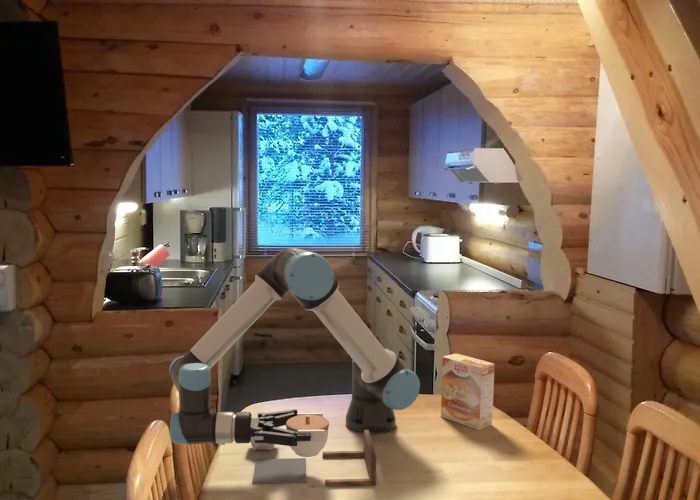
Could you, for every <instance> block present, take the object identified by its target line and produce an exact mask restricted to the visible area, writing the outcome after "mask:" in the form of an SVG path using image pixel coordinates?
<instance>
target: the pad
mask: <svg viewBox="0 0 700 500" xmlns="http://www.w3.org/2000/svg"><path fill="white" fill-rule="evenodd" d="M254 463H255V464H254V469H253V475H252V484H253V485H259V484H260V485H262V484H263V485H265V484H266V485H267V484H269V485H271V484H307V457H302V458H301V457H299V458H296V457H295V458H294V457H293V458H290V457H289V458H256V459H255V462H254Z"/></svg>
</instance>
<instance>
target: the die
mask: <svg viewBox="0 0 700 500" xmlns="http://www.w3.org/2000/svg"><path fill="white" fill-rule="evenodd" d="M250 444H251V447H252V450H253V451H273V449H274V446H275V444H269V443H255V437H251V441H250Z"/></svg>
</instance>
